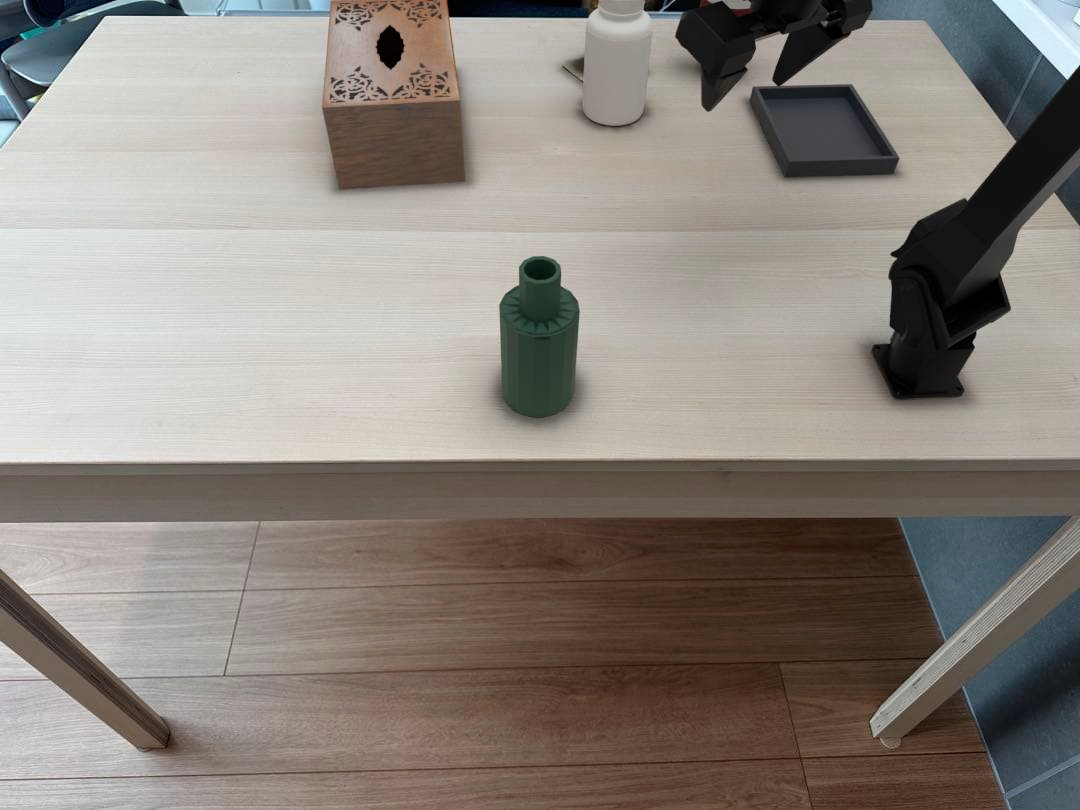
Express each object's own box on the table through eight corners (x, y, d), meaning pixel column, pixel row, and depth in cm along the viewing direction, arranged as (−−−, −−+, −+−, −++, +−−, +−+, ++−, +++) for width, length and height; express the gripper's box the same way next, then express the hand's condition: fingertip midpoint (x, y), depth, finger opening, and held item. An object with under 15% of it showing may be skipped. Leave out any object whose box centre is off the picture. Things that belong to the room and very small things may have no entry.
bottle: (576, 415, 70) (586, 295, 59) (503, 419, 69) (499, 299, 58) (569, 362, 74) (577, 241, 63) (500, 365, 73) (496, 244, 63)
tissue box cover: (344, 77, 107) (330, 0, 99) (451, 71, 108) (446, -5, 101) (339, 189, 91) (322, 107, 83) (465, 181, 92) (460, 100, 84)
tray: (893, 173, 94) (900, 158, 93) (784, 177, 93) (789, 161, 92) (847, 98, 105) (852, 83, 104) (749, 101, 104) (752, 86, 103)
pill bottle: (605, 89, 106) (615, -31, 94) (655, 109, 103) (671, -12, 91) (568, 112, 102) (574, -10, 90) (619, 135, 99) (631, 11, 87)
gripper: (830, -137, 70) (761, 21, 83) (665, -98, 63) (618, 66, 77) (917, -62, 66) (829, 90, 80) (751, -12, 59) (686, 145, 73)
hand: (741, 95), depth 77 cm, fingers open, 9 cm apart
